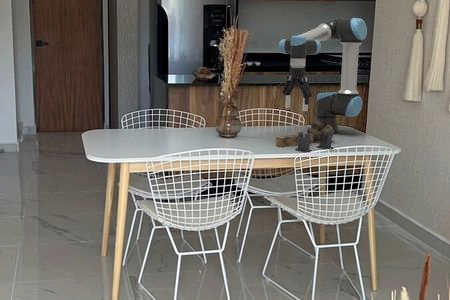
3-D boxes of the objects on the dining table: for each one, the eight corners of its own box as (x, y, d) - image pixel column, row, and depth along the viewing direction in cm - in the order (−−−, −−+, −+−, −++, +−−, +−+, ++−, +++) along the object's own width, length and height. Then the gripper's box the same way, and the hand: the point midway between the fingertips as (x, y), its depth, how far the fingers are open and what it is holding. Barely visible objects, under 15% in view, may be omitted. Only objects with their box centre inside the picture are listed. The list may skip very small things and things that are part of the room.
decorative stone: (319, 134, 303) (302, 119, 313) (314, 152, 308) (297, 137, 319) (343, 130, 311) (325, 116, 321) (337, 147, 316) (320, 133, 327)
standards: (323, 146, 299) (324, 129, 297) (333, 149, 293) (334, 131, 291) (295, 150, 289) (296, 132, 287) (304, 152, 283) (305, 134, 281)
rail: (308, 142, 311) (308, 133, 310) (312, 143, 308) (313, 134, 307) (276, 146, 298) (276, 137, 298) (280, 147, 296) (280, 138, 295)
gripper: (276, 66, 304) (275, 107, 308) (308, 68, 284) (306, 112, 288) (287, 65, 308) (286, 106, 312) (320, 68, 288) (318, 111, 292)
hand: (296, 109), depth 300 cm, fingers open, 13 cm apart
